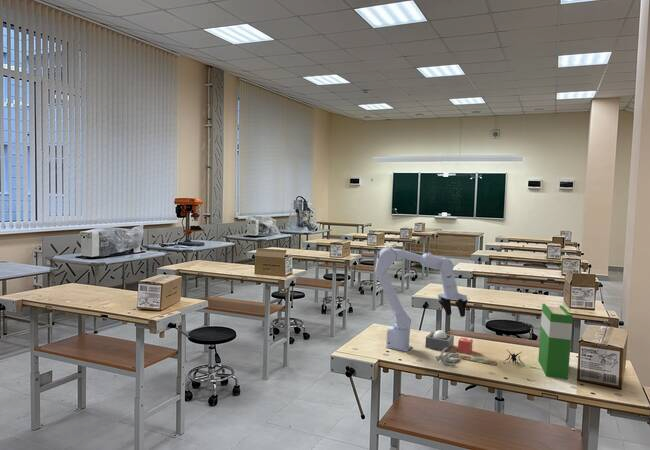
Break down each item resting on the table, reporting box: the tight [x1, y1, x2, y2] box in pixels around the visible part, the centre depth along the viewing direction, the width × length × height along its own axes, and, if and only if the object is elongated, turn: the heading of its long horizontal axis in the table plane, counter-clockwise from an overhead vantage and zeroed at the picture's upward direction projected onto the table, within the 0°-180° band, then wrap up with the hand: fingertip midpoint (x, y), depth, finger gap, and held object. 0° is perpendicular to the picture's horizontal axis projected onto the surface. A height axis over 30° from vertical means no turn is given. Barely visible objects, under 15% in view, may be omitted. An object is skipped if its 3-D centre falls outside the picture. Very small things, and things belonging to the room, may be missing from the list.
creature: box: [503, 349, 525, 367], centre depth 184 cm, size 8×5×8 cm
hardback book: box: [537, 303, 574, 380], centre depth 179 cm, size 18×7×24 cm, turn 164°
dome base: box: [424, 331, 455, 353], centre depth 203 cm, size 10×10×4 cm
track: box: [444, 351, 498, 366], centre depth 188 cm, size 20×4×1 cm, turn 62°
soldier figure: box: [435, 347, 462, 367], centre depth 183 cm, size 8×5×12 cm
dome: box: [432, 329, 448, 340], centre depth 203 cm, size 7×7×6 cm
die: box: [457, 337, 474, 355], centre depth 198 cm, size 5×5×5 cm
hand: (456, 315), depth 198 cm, fingers open, 7 cm apart
